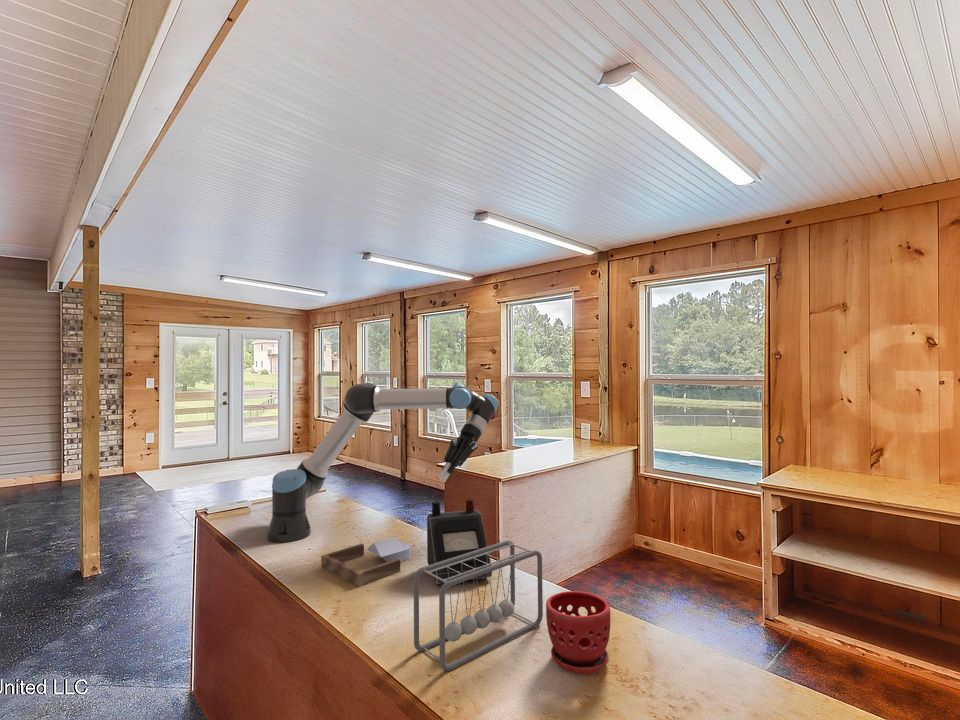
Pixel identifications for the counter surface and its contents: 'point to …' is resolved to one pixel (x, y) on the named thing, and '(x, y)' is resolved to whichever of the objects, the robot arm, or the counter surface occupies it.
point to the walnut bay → (359, 578)
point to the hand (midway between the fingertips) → (441, 479)
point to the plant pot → (578, 631)
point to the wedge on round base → (391, 549)
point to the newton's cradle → (481, 616)
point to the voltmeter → (455, 540)
